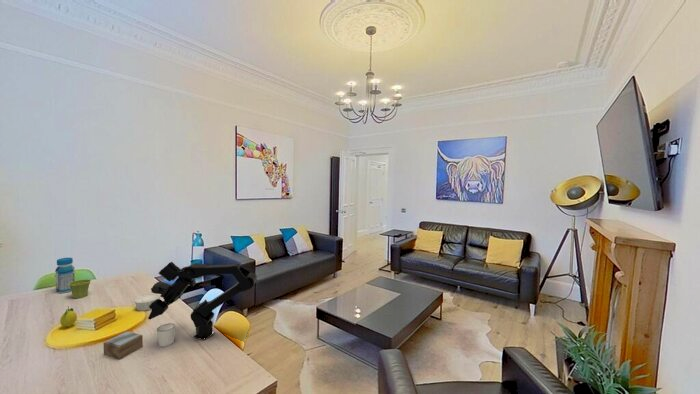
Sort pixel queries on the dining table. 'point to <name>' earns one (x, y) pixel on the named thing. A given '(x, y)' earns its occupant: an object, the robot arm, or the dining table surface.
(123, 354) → the walnut plinth
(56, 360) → the dining table surface
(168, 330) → the shot glass
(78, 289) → the plant pot
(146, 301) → the ramekin
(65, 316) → the green pear
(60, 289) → the beverage bottle
